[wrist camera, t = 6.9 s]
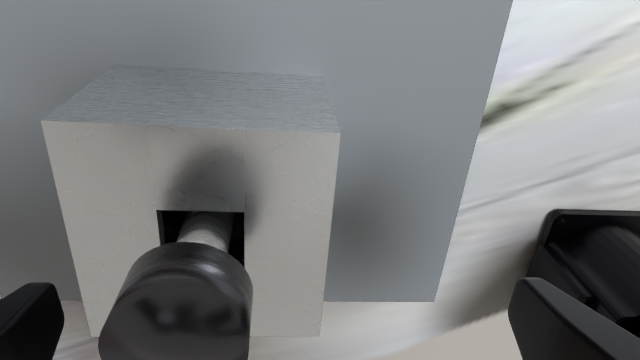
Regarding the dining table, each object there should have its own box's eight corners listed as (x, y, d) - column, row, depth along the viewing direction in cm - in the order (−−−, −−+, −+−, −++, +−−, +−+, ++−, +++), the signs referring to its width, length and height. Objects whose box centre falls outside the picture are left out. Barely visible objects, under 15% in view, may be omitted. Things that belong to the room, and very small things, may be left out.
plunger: (292, 114, 17) (301, 258, 9) (286, 234, 20) (289, 423, 12) (141, 107, 16) (18, 254, 9) (156, 232, 19) (71, 428, 11)
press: (323, 76, 18) (340, 133, 13) (310, 239, 22) (319, 336, 16) (115, 64, 17) (40, 120, 12) (139, 236, 21) (90, 337, 15)
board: (500, -23, 18) (518, -20, 17) (426, 283, 25) (434, 301, 24) (-93, -71, 16) (-127, -72, 14) (18, 279, 23) (1, 299, 22)
